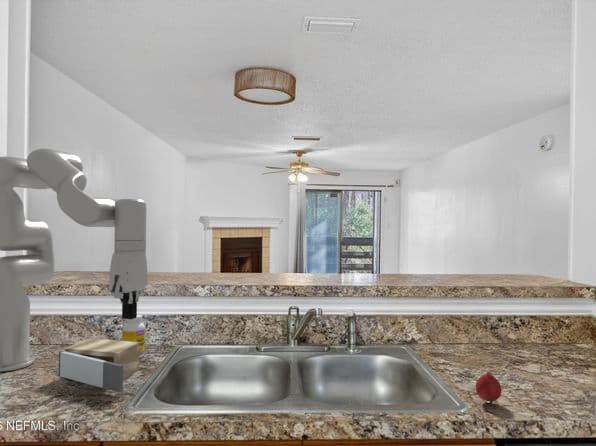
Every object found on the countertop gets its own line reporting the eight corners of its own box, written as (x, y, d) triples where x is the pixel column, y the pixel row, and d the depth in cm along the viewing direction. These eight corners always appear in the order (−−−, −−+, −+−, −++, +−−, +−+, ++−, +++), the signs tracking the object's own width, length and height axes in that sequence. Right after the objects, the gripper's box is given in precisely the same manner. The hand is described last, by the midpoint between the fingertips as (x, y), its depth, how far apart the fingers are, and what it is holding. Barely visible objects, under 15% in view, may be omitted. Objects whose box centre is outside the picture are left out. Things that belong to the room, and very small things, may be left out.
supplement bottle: (136, 361, 126) (137, 319, 126) (117, 359, 127) (118, 317, 127) (148, 354, 133) (149, 314, 133) (130, 352, 134) (130, 313, 134)
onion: (471, 397, 105) (472, 366, 105) (494, 398, 105) (495, 367, 105) (480, 408, 100) (481, 374, 100) (505, 409, 99) (506, 375, 99)
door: (57, 375, 110) (57, 351, 110) (61, 374, 112) (62, 350, 111) (119, 392, 101) (120, 366, 101) (123, 391, 102) (124, 365, 102)
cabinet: (63, 377, 112) (64, 348, 112) (88, 365, 122) (89, 338, 121) (117, 383, 109) (118, 353, 109) (138, 370, 119) (139, 342, 119)
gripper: (135, 245, 115) (134, 311, 115) (97, 248, 100) (96, 324, 100) (159, 246, 113) (158, 313, 113) (124, 249, 99) (123, 326, 99)
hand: (129, 318), depth 107 cm, fingers closed
